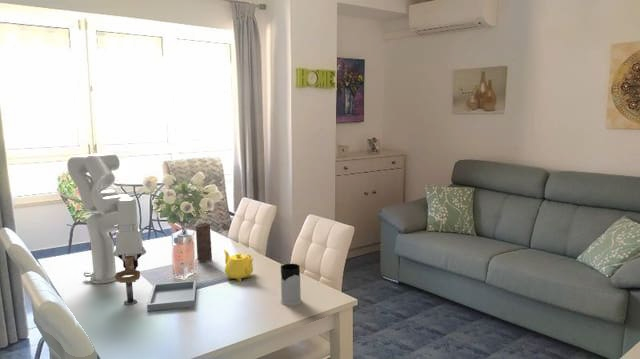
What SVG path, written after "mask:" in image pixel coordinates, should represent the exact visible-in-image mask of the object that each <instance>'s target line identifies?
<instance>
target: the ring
mask: <svg viewBox="0 0 640 359" xmlns="http://www.w3.org/2000/svg"><path fill="white" fill-rule="evenodd" d="M125 268H126V270H125ZM125 268H124V270H121V271H117V272H116V275H115V281H114V282H117V283H120V284H126V283H127V282H132V283H134V282H133V281H136V282H137V281H138V280H140V277H141V271H140V270H137V269H136V270H134V254H132V255H126V257H125Z"/></svg>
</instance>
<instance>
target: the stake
mask: <svg viewBox="0 0 640 359" xmlns="http://www.w3.org/2000/svg"><path fill="white" fill-rule="evenodd" d="M136 282H137V280H136V281H133V282H127V283H125V287H126V288H125V289H126V300H124V302H123V305H125V306H132V305H135V304H137V303H138V300H137V299H135V298H134V290H133V289H134V287H133V283H136Z"/></svg>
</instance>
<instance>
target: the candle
mask: <svg viewBox="0 0 640 359" xmlns="http://www.w3.org/2000/svg"><path fill="white" fill-rule="evenodd" d="M195 238H196V260H197V261H198V262H208V261H212V260H213V253H212V252H213V251H212V239H211V238H212V237H211V224H210V222H199V223H197V224H196V225H195Z"/></svg>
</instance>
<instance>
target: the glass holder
mask: <svg viewBox="0 0 640 359" xmlns="http://www.w3.org/2000/svg"><path fill="white" fill-rule="evenodd" d="M300 271H301V270H300V265H299V264H298V263H285V264H284V263H281V264H280V275H281V279H280V286H281V288H280V289H281V291H280V292H281V293H280V294H281V298H280V299H281V300H280V304H281V305H283V306H285V307H295V306H298V305H300V304H302V302H303V300H302V298H301V296H302V295H301V294H302V293H301V275H300V273H301V272H300Z"/></svg>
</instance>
